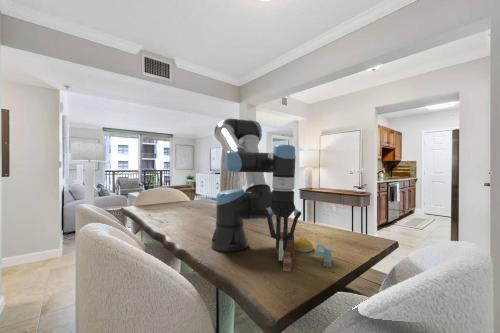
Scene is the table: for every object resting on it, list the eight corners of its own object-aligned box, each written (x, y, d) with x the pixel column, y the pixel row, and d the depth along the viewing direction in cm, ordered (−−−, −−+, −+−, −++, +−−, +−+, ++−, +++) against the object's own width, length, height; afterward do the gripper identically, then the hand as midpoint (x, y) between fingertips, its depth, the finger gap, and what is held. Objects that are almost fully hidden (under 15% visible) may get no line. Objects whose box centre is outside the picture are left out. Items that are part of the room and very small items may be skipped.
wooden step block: (295, 271, 71) (295, 246, 71) (278, 270, 71) (279, 245, 72) (293, 253, 86) (293, 232, 86) (279, 252, 87) (279, 232, 87)
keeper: (315, 265, 76) (315, 251, 76) (317, 256, 83) (317, 244, 83) (331, 267, 74) (331, 253, 74) (331, 258, 81) (331, 245, 82)
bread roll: (291, 252, 88) (292, 242, 88) (292, 244, 97) (292, 235, 97) (313, 254, 86) (313, 243, 86) (312, 246, 95) (312, 237, 95)
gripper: (262, 189, 75) (260, 260, 75) (301, 191, 72) (299, 266, 71) (267, 188, 83) (265, 253, 82) (302, 190, 79) (300, 257, 78)
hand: (281, 259), depth 77 cm, fingers closed
